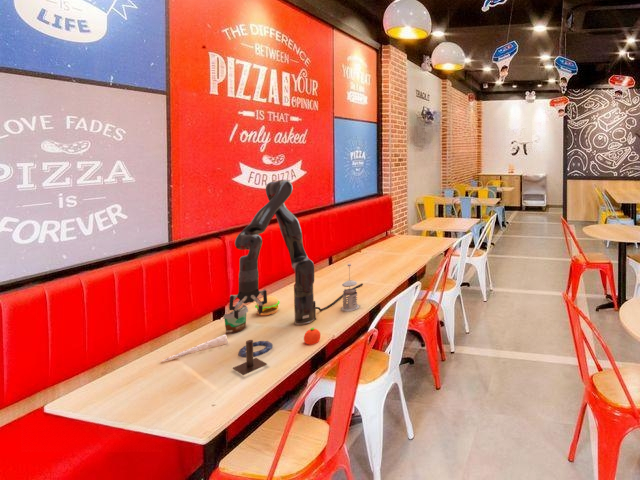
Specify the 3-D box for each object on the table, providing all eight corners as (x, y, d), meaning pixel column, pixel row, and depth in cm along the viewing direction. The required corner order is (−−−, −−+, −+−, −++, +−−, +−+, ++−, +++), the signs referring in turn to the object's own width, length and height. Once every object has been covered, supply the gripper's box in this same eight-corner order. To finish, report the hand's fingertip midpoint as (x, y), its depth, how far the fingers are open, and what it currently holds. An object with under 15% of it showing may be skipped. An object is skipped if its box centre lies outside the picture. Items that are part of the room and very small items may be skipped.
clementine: (304, 341, 177) (303, 326, 177) (320, 338, 180) (320, 323, 180) (303, 349, 170) (303, 333, 170) (320, 346, 172) (320, 330, 172)
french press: (362, 304, 221) (361, 261, 220) (353, 312, 209) (352, 267, 209) (345, 304, 222) (344, 261, 221) (336, 312, 210) (335, 267, 210)
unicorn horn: (160, 359, 163) (160, 348, 163) (227, 342, 177) (226, 332, 177) (159, 364, 159) (159, 352, 159) (227, 346, 174) (227, 336, 174)
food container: (234, 336, 184) (233, 315, 184) (223, 335, 185) (223, 314, 185) (254, 324, 196) (253, 305, 196) (244, 324, 197) (243, 304, 197)
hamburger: (257, 318, 204) (257, 302, 203) (253, 312, 213) (252, 296, 212) (282, 312, 211) (282, 296, 211) (276, 306, 220) (276, 291, 220)
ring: (263, 342, 176) (263, 337, 176) (278, 350, 169) (278, 344, 169) (233, 355, 166) (233, 349, 166) (247, 363, 159) (247, 357, 159)
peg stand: (256, 361, 160) (255, 333, 160) (267, 367, 155) (266, 339, 155) (232, 371, 153) (232, 342, 153) (243, 378, 148) (242, 348, 148)
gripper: (265, 274, 176) (265, 310, 175) (228, 280, 168) (228, 317, 167) (268, 278, 170) (267, 315, 169) (229, 284, 162) (229, 322, 161)
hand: (248, 316), depth 168 cm, fingers open, 8 cm apart
